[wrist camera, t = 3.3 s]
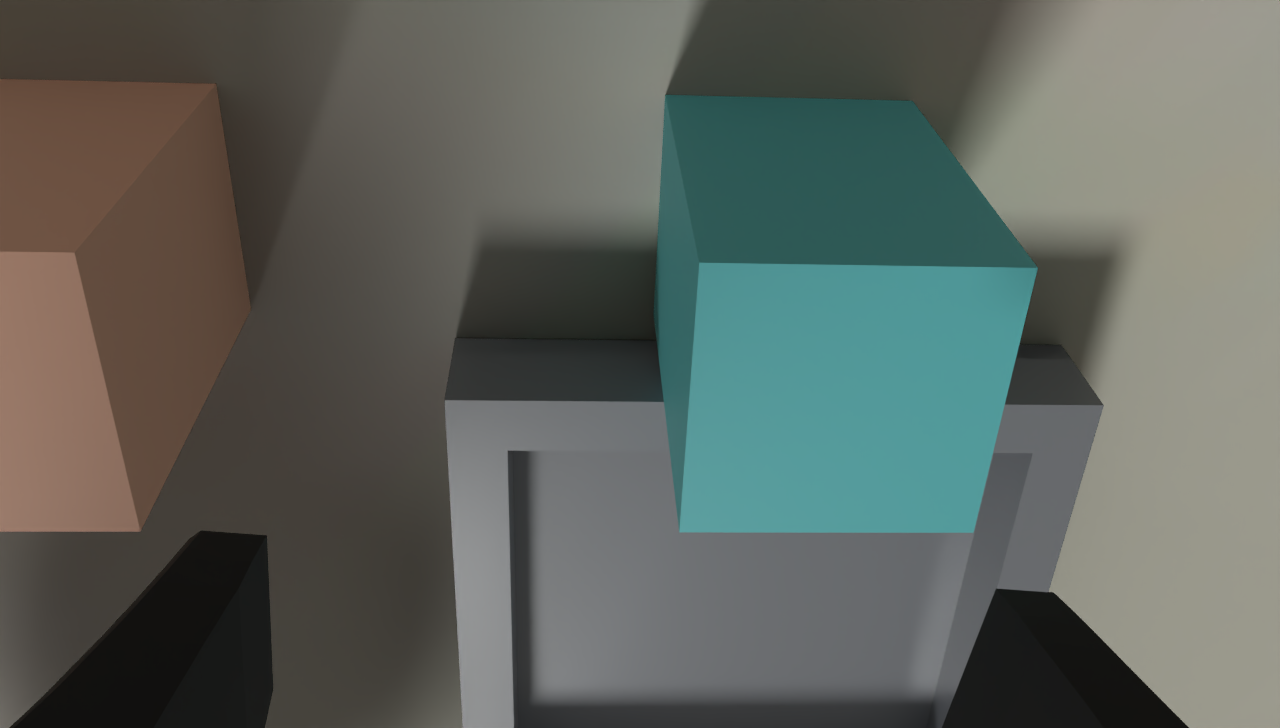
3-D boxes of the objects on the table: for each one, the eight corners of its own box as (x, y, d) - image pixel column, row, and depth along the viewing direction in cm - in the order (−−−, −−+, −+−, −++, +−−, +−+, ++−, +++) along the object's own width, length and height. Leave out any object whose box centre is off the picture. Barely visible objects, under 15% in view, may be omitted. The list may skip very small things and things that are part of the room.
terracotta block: (251, 309, 20) (140, 532, 15) (13, 306, 20) (-181, 531, 15) (216, 83, 18) (74, 252, 13) (-50, 77, 18) (-301, 247, 13)
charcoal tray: (952, 753, 27) (977, 827, 25) (476, 758, 26) (468, 835, 25) (1061, 344, 21) (1103, 405, 20) (455, 338, 21) (444, 400, 19)
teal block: (875, 317, 21) (973, 532, 16) (653, 314, 21) (679, 532, 16) (911, 100, 19) (1038, 267, 14) (665, 94, 19) (698, 262, 13)
